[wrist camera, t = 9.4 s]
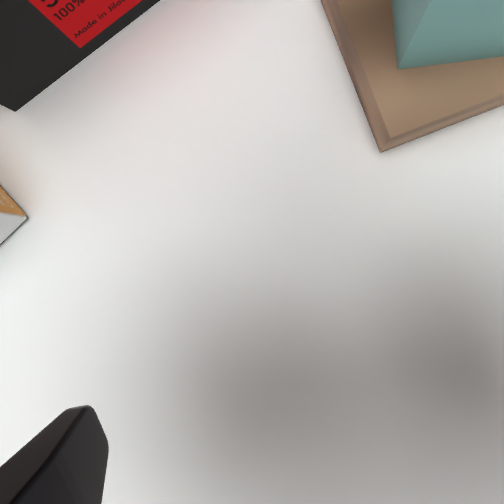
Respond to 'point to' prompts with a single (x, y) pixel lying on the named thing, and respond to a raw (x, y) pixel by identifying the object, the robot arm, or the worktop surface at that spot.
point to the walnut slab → (407, 77)
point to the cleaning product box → (54, 40)
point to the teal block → (447, 31)
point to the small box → (9, 215)
